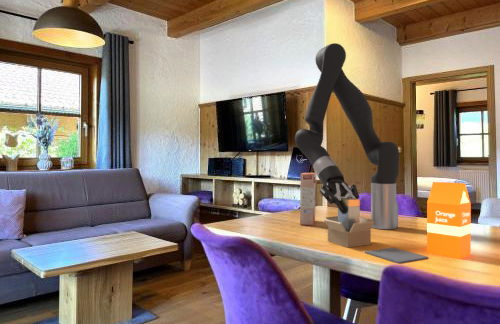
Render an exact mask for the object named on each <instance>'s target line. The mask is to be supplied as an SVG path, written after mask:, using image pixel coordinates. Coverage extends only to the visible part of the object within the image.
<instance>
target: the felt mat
mask: <svg viewBox="0 0 500 324" xmlns="http://www.w3.org/2000/svg"><path fill="white" fill-rule="evenodd" d="M364 254H366V255H367V254H368V255H371V256H374V257H376V258H379V257H380V259H383V260H387V261H390V262H393V263H396V264H403V263H409V262H416V261H421V260H428V259H429V256H426V255H423V254H418V253H415V252H412V251H407V250H403V249H400V248H396V247H387V248H380V249H373V250H365V251H364Z"/></svg>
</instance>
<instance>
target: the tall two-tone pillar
mask: <svg viewBox="0 0 500 324" xmlns="http://www.w3.org/2000/svg"><path fill="white" fill-rule="evenodd" d="M341 201H343V203H344V205H345V206H346V208H347V212H346V213H345V214H342V212H340V210H339V208H338V207H337V216H338V222H340V223H342V225H343V227H344V228H345V230H346V232H349V231H350V230H351V228H352V226H353V224H354V223H360V217H361V216H360V215H361V205H360V203H361V202H360V201H361V199H360V198H359V199H354V198H351V197H349V198H343V197H341Z"/></svg>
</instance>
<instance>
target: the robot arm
mask: <svg viewBox="0 0 500 324" xmlns="http://www.w3.org/2000/svg"><path fill="white" fill-rule="evenodd" d="M346 58H347V53H346V50H345V47H343V46H342V45H341V44H340V43H335V42H334V43H330V44H328V45H326V46H324V47H323V48H320V49H319V50H318V52H316V55H315V58H314V59H315V65H316V66H317V68H318V70H319V72H320V75H319V79H318V82H317V84H316V86H315V88H314V90H313V93H312V94H311V97H310V99H309V102H308V105H307V109H306V112H305V115H304V121H305V122H306V124H308V125H309V129H308V128H300V129H298V130H297V131H296V133H295V136H294V142H295V145H296V147H297V148H298V150H300V152H301V153H302V154H303V155H304V156H305V157H306V158H307V159H308V161H309V163H310V165H311V166H312V168H313V170H314V173H315V175H316V176H317V178H318V179H319V181H320V183H321V184H322V186H321V188H319V193H320V194H321V195H322V197H324V199H325V200H326V201H327V202H328V203H329V204H330V205H333V204H334V205H335V206H337V209H338V208H339V210H340V212H342V214H345V213H346V212H347V208H346V206H345V205H344V203H343V201H341V198H354V199H360V195H359V191H358V188H357V186H356V184H354V183H353V184H352V185H349V184H348V183H347V182H346V181H345V177H344V174H343V173H342V171H341V170H340V168H339V167H338V165H337V163H336V161H334V159H333V158H332V157H331V155H330V153H329V152H328V150H327V149H326V148H325V147H324V146H322V144H323V141H324V121H325V117H326V113H327V110H328V106H329V102H330V100H331V96H332V93H334V96H335V97H336V99H337V101H338V102H339V105H340V106H341V109H342V110H343V112H344V114H345V116H346V117H347V119H348V121H349V122H350V125H351V126H352V128H353V130H354V132H355V134H356V136H357V137H358V139H359V141H360V143H361V146H362V148H363V150H364V153H365V156H366V157H367V159H368V161H369V162H370V163H371V164H372V165H374V166H377V169H376V172H375V173H374V174H373V175H371V177H370V219H372V220H374V223H373V225H372V227H371V228H374V229H380V230H394V229H395V230H396V229H398V228H399V202H397V178H399V173H400V171H399V170H400V150H399V147H398V145H397V144H396V143H395V142H393V141H381V140H380V138H379V136H378V135H377V133H376V130H375V128H374V122H373V121H374V120H373V118H374V117H373V111H372V108H371V105H370V104H369V102H368V100H367V98H366V96H365V95H364V93H363V91H361V89H360V88H358V87H357V86H356V85H355V84H354V83H353V82H352V81H351V80H350V79H349V78H348V77H347V75H346V74H345V72H344V70H343V66H344V64H345V61H346Z"/></svg>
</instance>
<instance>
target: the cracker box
mask: <svg viewBox="0 0 500 324" xmlns="http://www.w3.org/2000/svg"><path fill="white" fill-rule="evenodd" d="M299 185H300V193H299V194H300V196H299V199H300V201H299V202H300V203H299V205H300V207H299V209H300V210H299V213H300V214H299V224H300V226H312V227H313V226H315V221H316V173H315V172H302V173H300V182H299Z"/></svg>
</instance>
